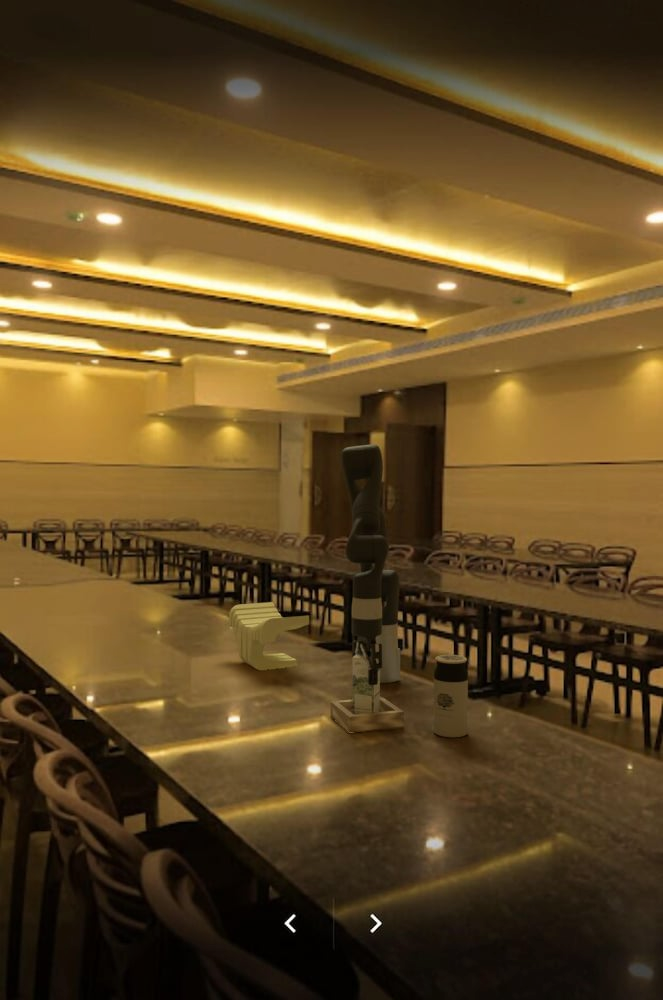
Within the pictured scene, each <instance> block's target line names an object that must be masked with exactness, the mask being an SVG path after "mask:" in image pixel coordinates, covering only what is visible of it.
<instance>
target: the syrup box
mask: <svg viewBox="0 0 663 1000" xmlns="http://www.w3.org/2000/svg"><path fill="white" fill-rule="evenodd" d="M368 670H369V669H368V664H367V662H366V661H365V660H364V656H363V655H361V653H358V654H356V655H355V656H354V657H353V656H352V699H353V701H352V703H353V708H352V713H353V714H354V715H356V714H366V713H376V712H379V711H380V697H381V696H380V695H381V694H380V692H381V691H380V690H381V685H380V684H381V683H380V668H379V669H378V684H377V685H369V684H368Z"/></svg>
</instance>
